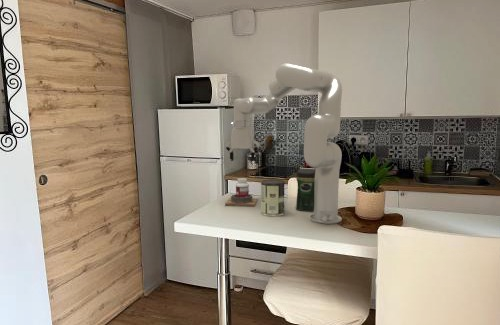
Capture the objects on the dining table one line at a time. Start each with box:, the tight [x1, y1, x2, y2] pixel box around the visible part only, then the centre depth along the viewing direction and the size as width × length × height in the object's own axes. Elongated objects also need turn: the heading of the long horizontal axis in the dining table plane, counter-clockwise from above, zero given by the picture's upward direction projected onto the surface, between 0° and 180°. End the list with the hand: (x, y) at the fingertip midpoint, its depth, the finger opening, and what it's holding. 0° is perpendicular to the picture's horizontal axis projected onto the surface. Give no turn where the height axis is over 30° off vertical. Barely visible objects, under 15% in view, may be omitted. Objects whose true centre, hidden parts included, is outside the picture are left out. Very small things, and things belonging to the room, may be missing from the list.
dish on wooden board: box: [224, 193, 258, 208], centre depth 179 cm, size 14×14×4 cm
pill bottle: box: [235, 177, 250, 198], centre depth 178 cm, size 6×6×11 cm
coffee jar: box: [295, 168, 316, 212], centre depth 166 cm, size 10×8×19 cm
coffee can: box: [260, 179, 286, 217], centre depth 159 cm, size 10×10×14 cm
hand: (242, 160), depth 177 cm, fingers open, 9 cm apart
